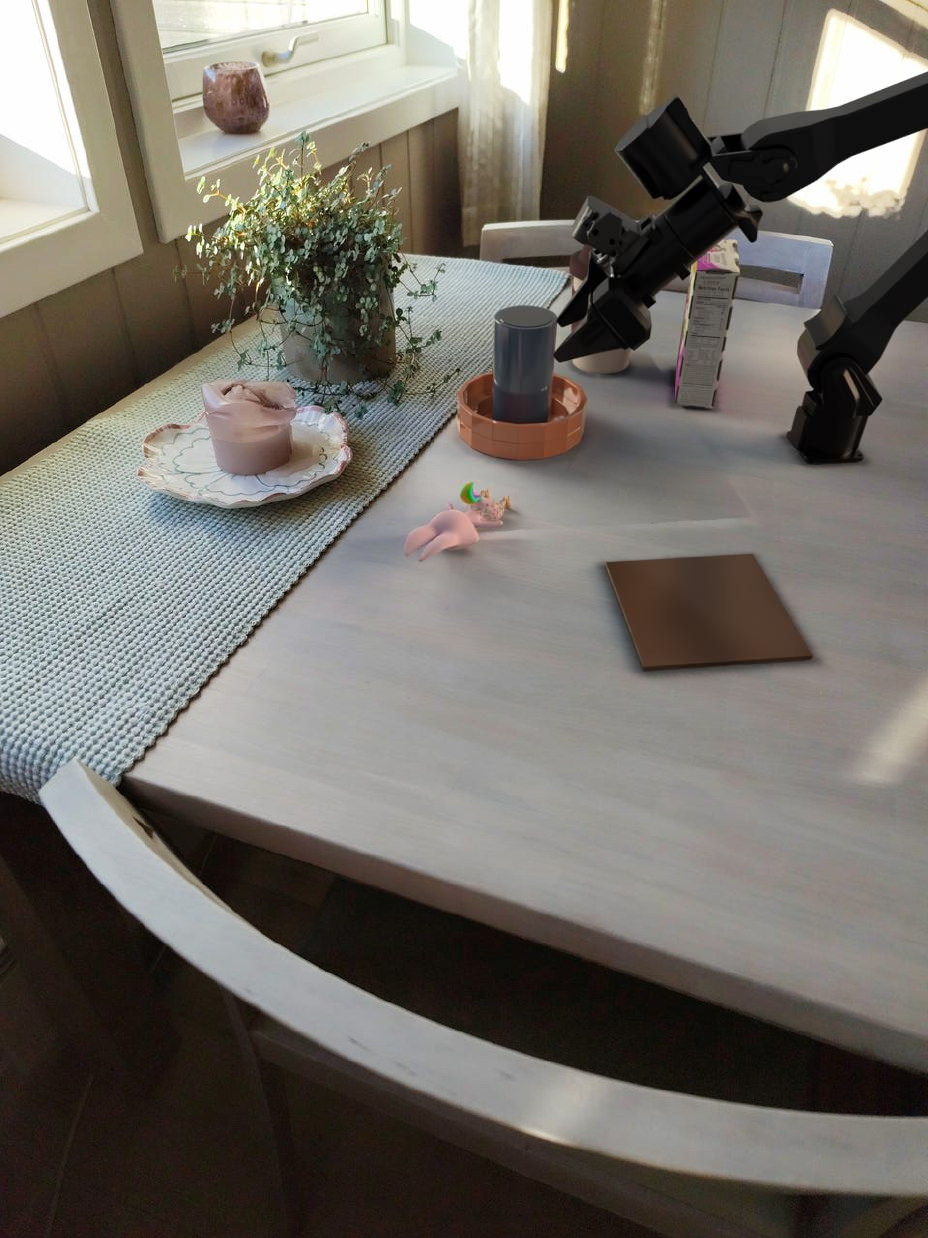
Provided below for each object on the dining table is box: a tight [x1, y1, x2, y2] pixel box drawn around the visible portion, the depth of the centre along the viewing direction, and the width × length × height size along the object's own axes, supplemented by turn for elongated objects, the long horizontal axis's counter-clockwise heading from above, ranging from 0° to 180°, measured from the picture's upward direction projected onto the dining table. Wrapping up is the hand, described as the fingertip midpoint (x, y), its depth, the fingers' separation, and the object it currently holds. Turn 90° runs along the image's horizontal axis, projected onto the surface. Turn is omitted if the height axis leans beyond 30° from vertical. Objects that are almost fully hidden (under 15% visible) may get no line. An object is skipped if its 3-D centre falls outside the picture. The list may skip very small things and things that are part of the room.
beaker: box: [492, 305, 558, 424], centre depth 95 cm, size 7×7×13 cm
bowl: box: [456, 370, 588, 461], centre depth 98 cm, size 14×14×4 cm
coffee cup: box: [568, 244, 643, 375], centre depth 108 cm, size 10×10×15 cm
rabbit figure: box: [404, 481, 512, 563], centre depth 81 cm, size 6×6×15 cm
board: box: [604, 553, 814, 672], centre depth 75 cm, size 14×14×1 cm
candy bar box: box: [674, 238, 741, 410], centre depth 102 cm, size 11×5×16 cm, turn 168°
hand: (557, 340), depth 92 cm, fingers open, 9 cm apart
